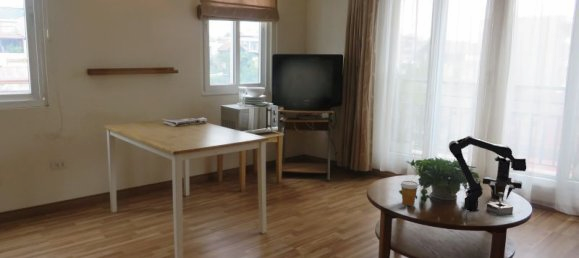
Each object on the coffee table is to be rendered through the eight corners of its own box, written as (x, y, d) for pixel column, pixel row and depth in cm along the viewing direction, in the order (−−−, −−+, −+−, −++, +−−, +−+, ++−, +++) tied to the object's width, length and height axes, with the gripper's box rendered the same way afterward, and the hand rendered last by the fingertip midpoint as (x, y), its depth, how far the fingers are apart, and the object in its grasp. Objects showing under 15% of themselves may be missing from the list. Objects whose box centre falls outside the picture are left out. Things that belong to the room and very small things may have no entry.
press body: (498, 215, 247) (499, 208, 246) (482, 208, 258) (483, 201, 257) (512, 214, 250) (513, 207, 249) (496, 207, 261) (496, 200, 260)
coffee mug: (506, 200, 272) (508, 184, 271) (490, 199, 274) (492, 182, 272) (502, 195, 283) (503, 178, 282) (486, 193, 285) (488, 177, 283)
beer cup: (418, 202, 265) (419, 182, 263) (415, 207, 257) (416, 186, 255) (401, 200, 269) (402, 179, 267) (397, 204, 261) (399, 183, 259)
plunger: (499, 207, 250) (500, 194, 249) (495, 205, 253) (496, 192, 252) (504, 206, 251) (505, 193, 250) (500, 204, 254) (501, 192, 252)
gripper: (483, 170, 245) (480, 199, 248) (523, 175, 237) (519, 205, 240) (484, 166, 255) (482, 193, 258) (523, 170, 247) (520, 199, 250)
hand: (500, 198), depth 251 cm, fingers open, 6 cm apart
